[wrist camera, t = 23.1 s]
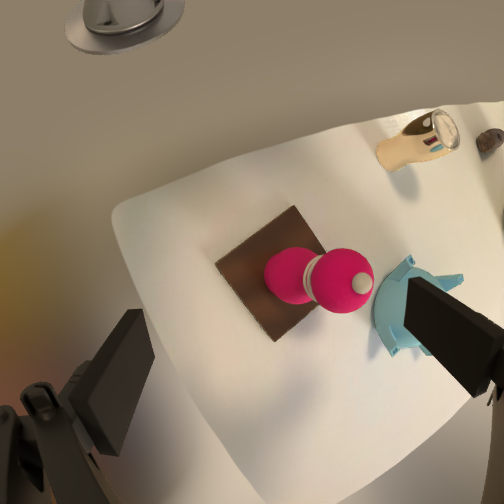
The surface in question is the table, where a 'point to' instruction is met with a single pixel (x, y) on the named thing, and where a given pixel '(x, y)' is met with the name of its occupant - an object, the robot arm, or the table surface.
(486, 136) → the perforated stone tool
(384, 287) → the teapot
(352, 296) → the pepper mill
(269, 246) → the walnut board
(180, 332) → the table surface
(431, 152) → the beer glass
